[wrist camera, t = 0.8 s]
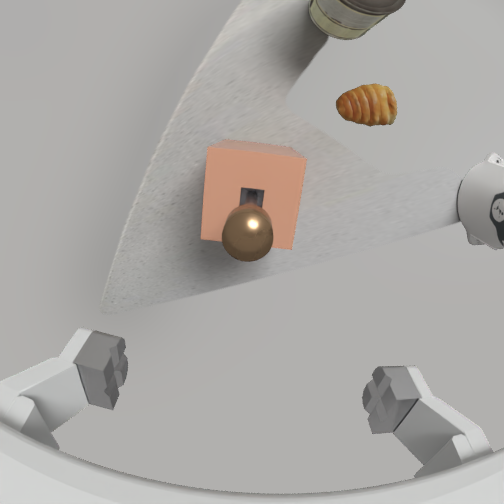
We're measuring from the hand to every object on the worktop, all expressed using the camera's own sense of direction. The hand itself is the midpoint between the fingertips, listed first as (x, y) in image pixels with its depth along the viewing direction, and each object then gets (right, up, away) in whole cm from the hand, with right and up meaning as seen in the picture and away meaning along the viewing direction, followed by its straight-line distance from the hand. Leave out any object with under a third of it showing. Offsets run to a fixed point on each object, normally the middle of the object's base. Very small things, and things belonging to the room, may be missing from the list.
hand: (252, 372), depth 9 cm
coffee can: (+14, +41, +26) cm, 50 cm away
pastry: (+18, +26, +33) cm, 46 cm away
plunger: (0, +10, +24) cm, 26 cm away
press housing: (0, +15, +37) cm, 40 cm away
